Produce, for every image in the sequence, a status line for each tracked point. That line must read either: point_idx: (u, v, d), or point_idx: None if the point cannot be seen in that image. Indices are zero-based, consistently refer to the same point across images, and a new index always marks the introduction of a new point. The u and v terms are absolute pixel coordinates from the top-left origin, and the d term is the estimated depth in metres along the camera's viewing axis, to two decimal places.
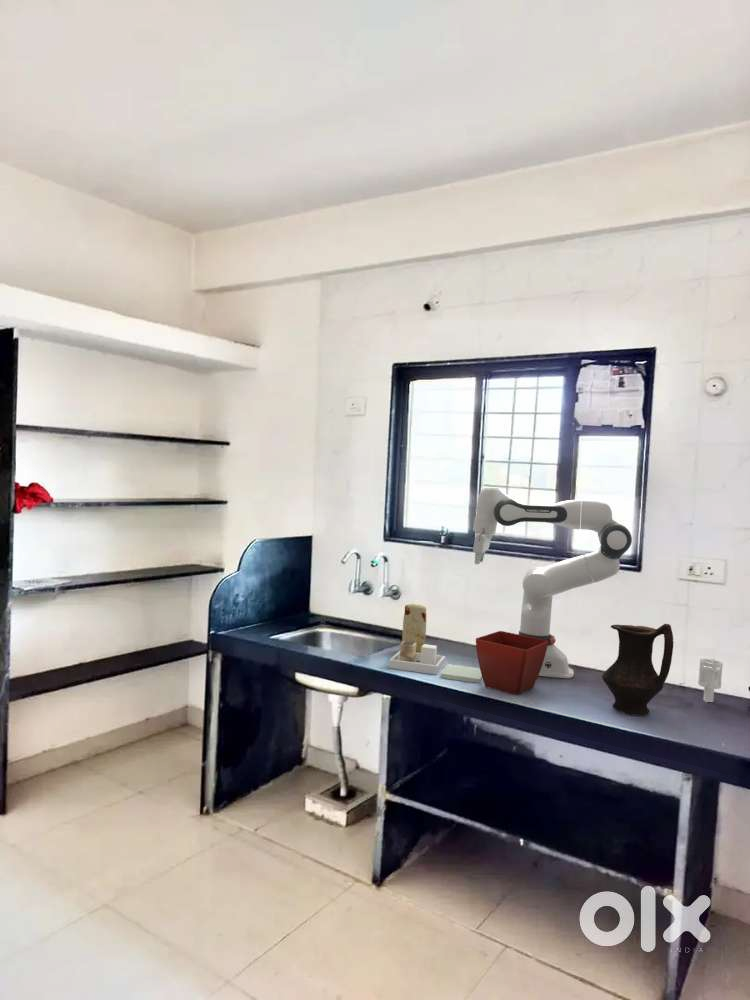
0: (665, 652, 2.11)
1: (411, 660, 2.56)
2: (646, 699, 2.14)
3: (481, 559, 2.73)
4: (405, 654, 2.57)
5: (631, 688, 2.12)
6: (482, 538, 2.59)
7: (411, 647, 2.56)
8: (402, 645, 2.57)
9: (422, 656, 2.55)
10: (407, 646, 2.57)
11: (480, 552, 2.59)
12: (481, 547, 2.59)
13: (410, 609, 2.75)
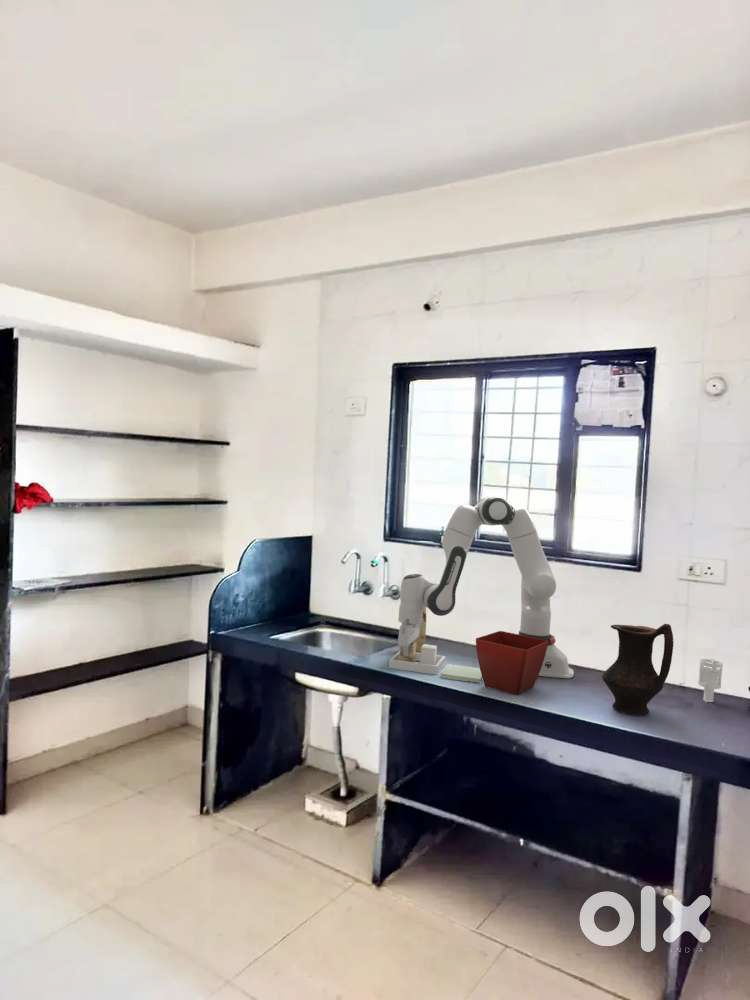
0: (665, 652, 2.11)
1: (411, 660, 2.56)
2: (646, 699, 2.14)
3: None
4: None
5: (631, 688, 2.12)
6: (406, 631, 2.50)
7: (411, 647, 2.56)
8: None
9: (422, 656, 2.55)
10: None
11: (405, 645, 2.49)
12: (406, 640, 2.49)
13: None
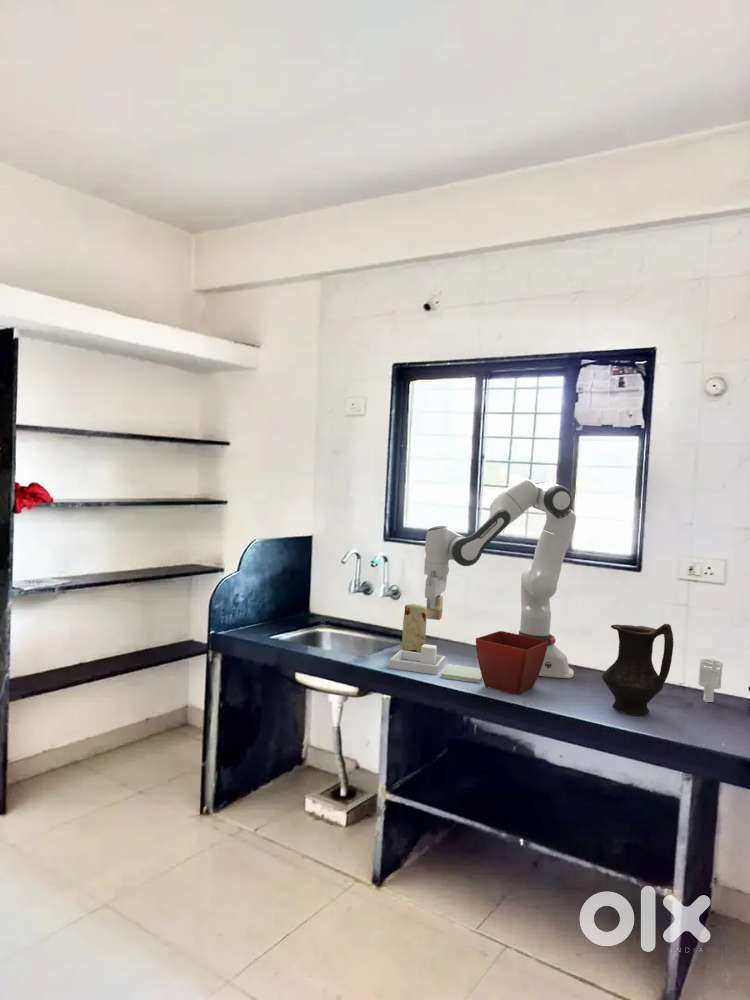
0: (665, 652, 2.11)
1: (438, 613, 2.52)
2: (646, 699, 2.14)
3: None
4: None
5: (631, 688, 2.12)
6: (433, 582, 2.45)
7: (438, 600, 2.52)
8: (428, 598, 2.53)
9: (422, 656, 2.55)
10: None
11: (432, 597, 2.45)
12: (433, 592, 2.45)
13: (410, 609, 2.75)
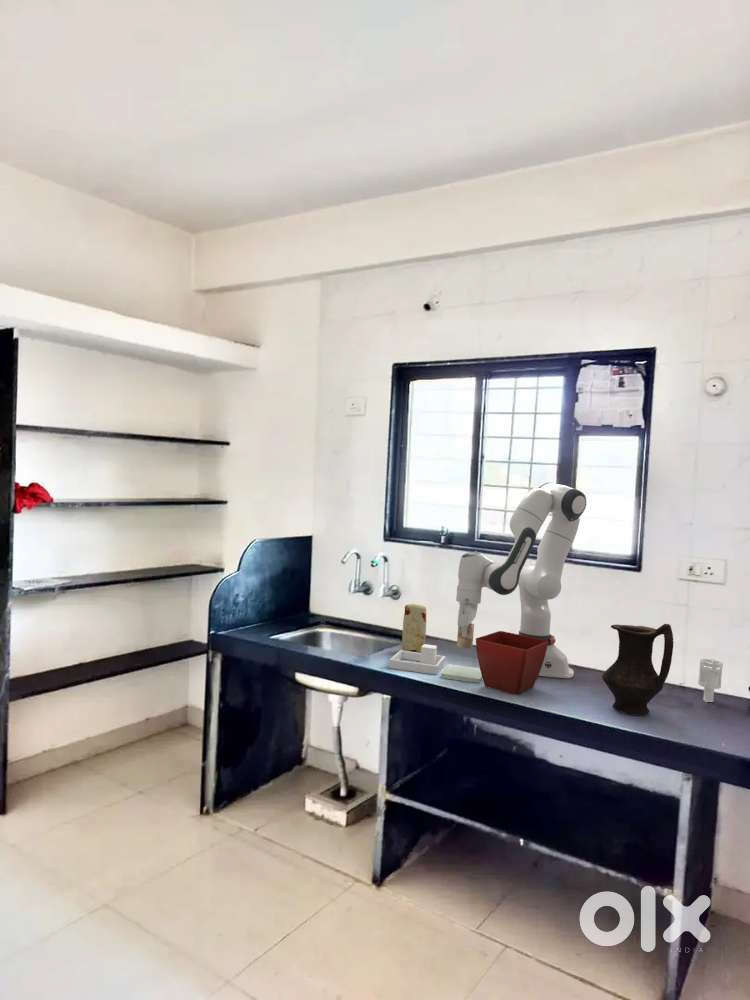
0: (665, 652, 2.11)
1: (469, 641, 2.46)
2: (646, 699, 2.14)
3: None
4: None
5: (631, 688, 2.12)
6: (466, 610, 2.39)
7: (470, 628, 2.46)
8: None
9: (422, 656, 2.55)
10: None
11: (465, 626, 2.39)
12: (466, 620, 2.39)
13: (410, 609, 2.75)
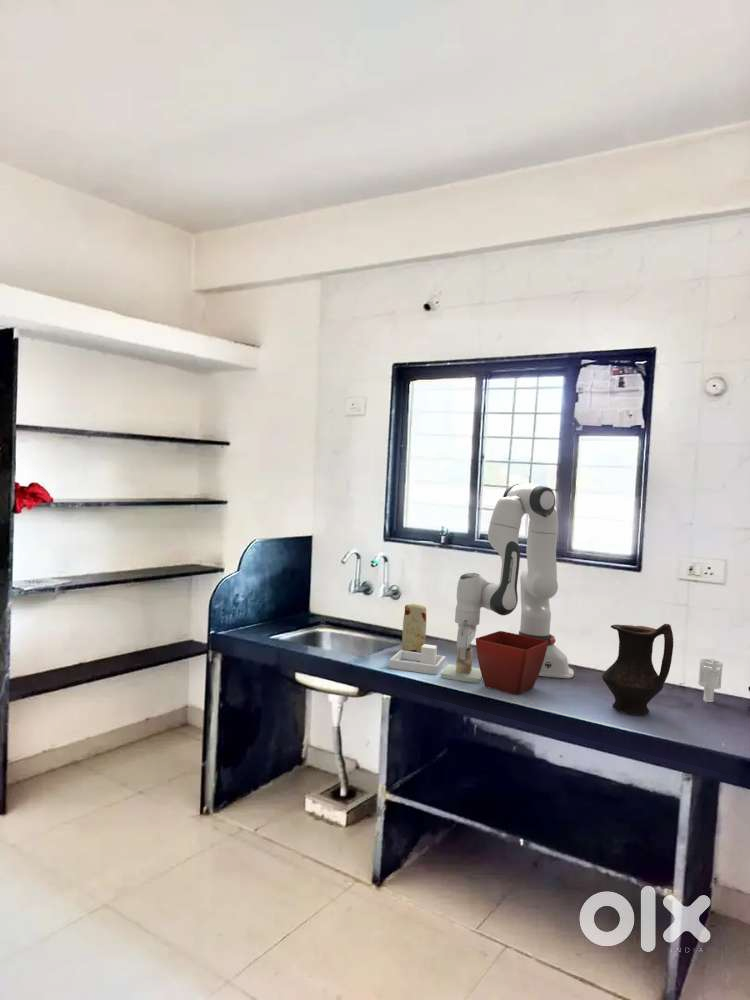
0: (665, 652, 2.11)
1: (468, 667, 2.46)
2: (646, 699, 2.14)
3: None
4: (462, 661, 2.47)
5: (631, 688, 2.12)
6: (465, 632, 2.39)
7: (468, 653, 2.46)
8: (459, 651, 2.47)
9: (422, 656, 2.55)
10: None
11: (464, 648, 2.39)
12: (465, 642, 2.39)
13: (410, 609, 2.75)
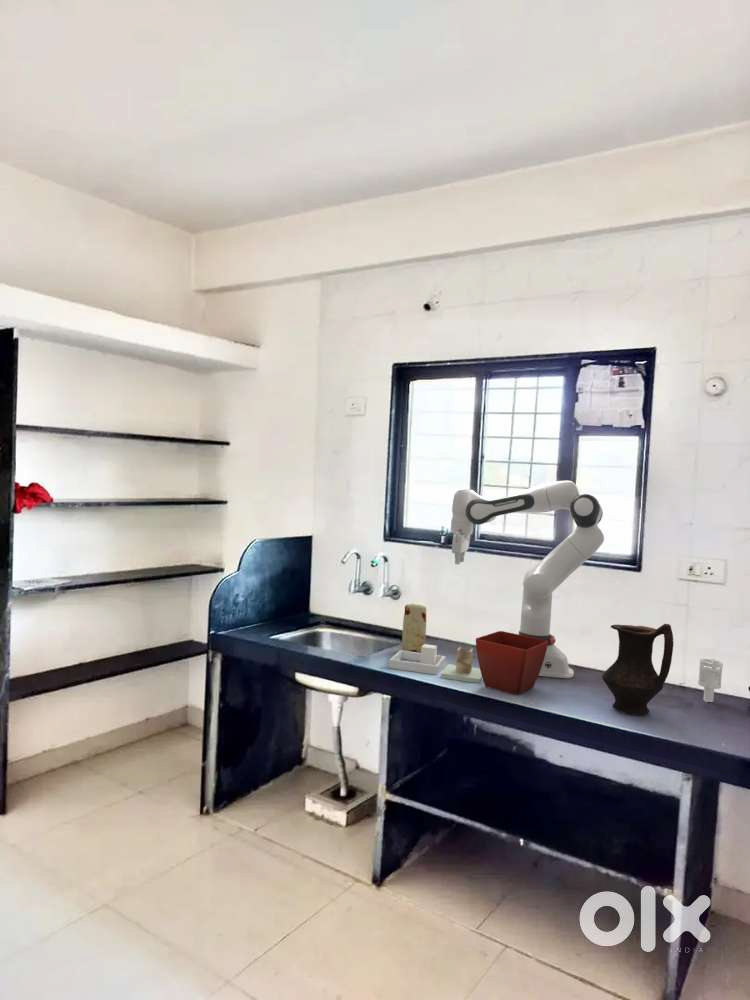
0: (665, 652, 2.11)
1: (468, 667, 2.46)
2: (646, 699, 2.14)
3: (462, 559, 2.83)
4: (462, 661, 2.47)
5: (631, 688, 2.12)
6: (459, 539, 2.70)
7: (468, 653, 2.46)
8: (459, 651, 2.47)
9: (422, 656, 2.55)
10: (464, 652, 2.47)
11: (459, 552, 2.70)
12: (459, 547, 2.69)
13: (410, 609, 2.75)
